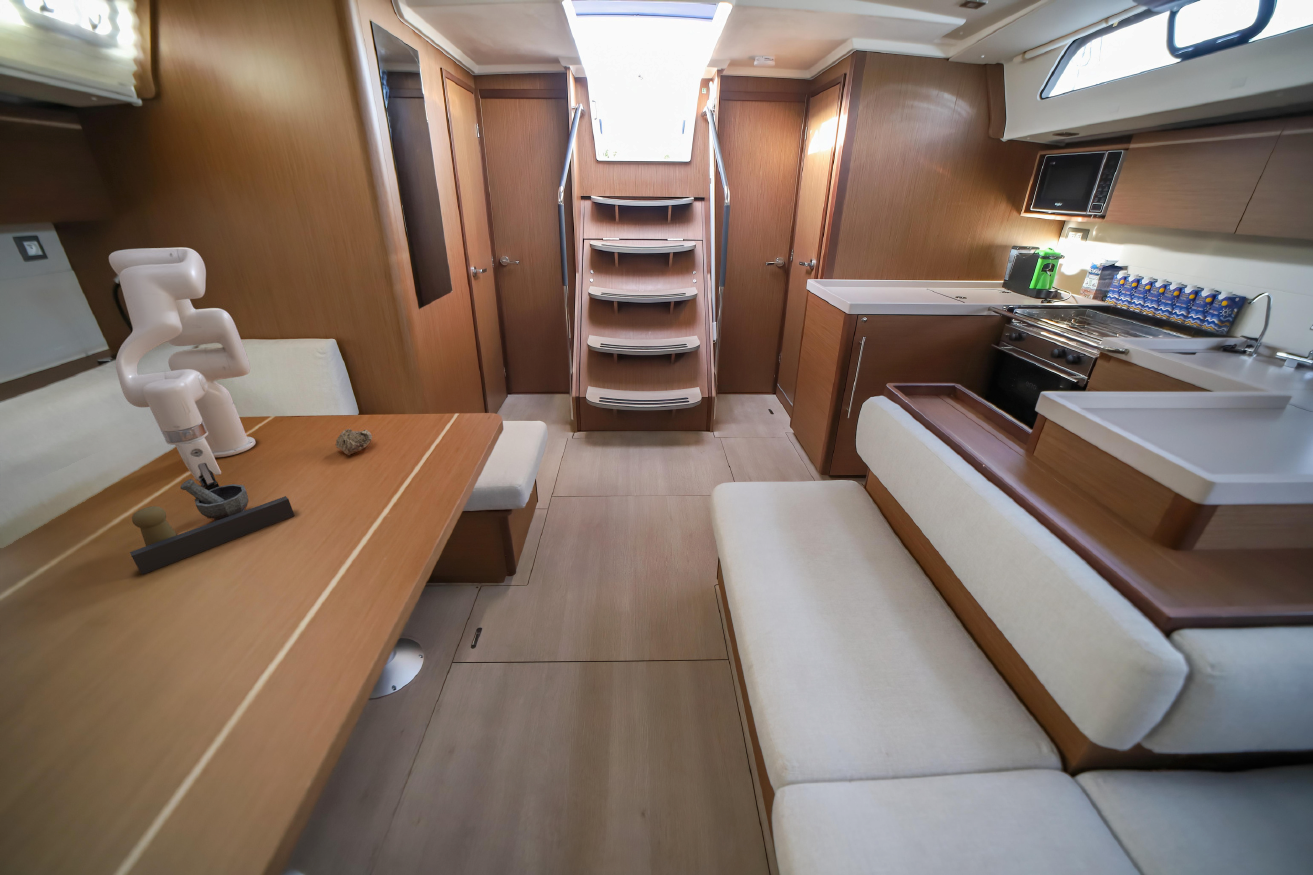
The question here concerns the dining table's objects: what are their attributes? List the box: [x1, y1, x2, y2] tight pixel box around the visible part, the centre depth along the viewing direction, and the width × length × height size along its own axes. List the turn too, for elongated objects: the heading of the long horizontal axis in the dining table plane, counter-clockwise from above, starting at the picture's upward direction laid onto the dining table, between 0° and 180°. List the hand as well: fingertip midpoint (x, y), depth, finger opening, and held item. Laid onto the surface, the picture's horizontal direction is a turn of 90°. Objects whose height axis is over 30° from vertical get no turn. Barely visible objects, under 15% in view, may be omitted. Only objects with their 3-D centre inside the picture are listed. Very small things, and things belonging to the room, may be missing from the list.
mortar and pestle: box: [179, 478, 249, 522], centre depth 120 cm, size 11×9×12 cm
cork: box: [131, 505, 178, 546], centre depth 109 cm, size 6×6×11 cm
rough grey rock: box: [335, 428, 373, 456], centre depth 155 cm, size 11×7×10 cm
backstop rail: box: [129, 495, 295, 576], centre depth 113 cm, size 2×28×5 cm, turn 140°
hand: (215, 497), depth 125 cm, fingers closed
